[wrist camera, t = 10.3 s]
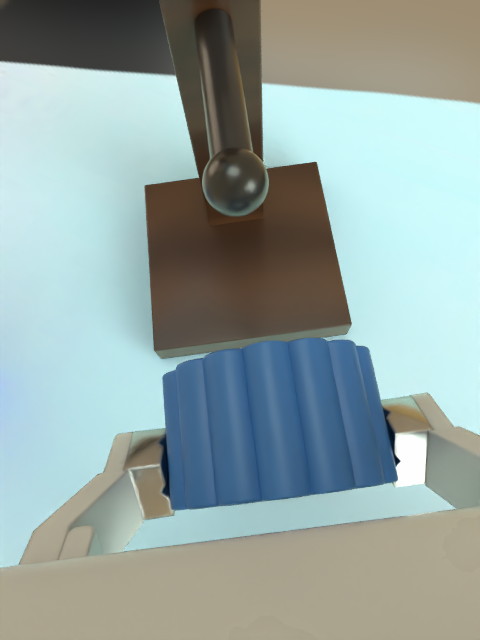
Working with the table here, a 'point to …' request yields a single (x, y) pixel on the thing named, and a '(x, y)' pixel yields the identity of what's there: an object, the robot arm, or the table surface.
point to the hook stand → (235, 205)
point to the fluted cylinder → (274, 424)
